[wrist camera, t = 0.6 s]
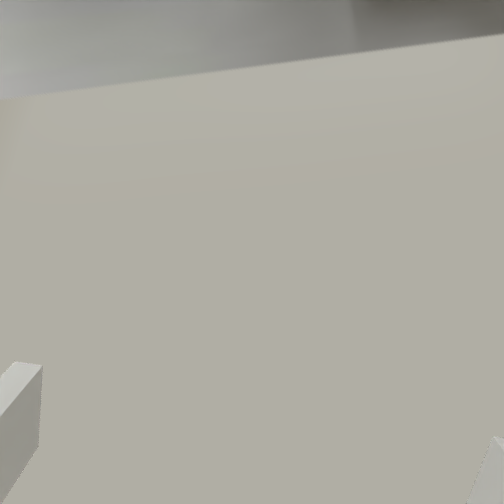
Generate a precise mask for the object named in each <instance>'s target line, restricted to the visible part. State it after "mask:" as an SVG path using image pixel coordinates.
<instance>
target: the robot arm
mask: <svg viewBox="0 0 504 504" xmlns="http://www.w3.org/2000/svg"><path fill="white" fill-rule="evenodd" d="M42 369H43V366H42V365H35V364H29V363H23V362H17V361H15V362H14V363H13V364H12V365H11V366H10V367H9V368H8V369H7V370H6V371H5V372H4V373H3V374H2V375H1V376H0V504H2V502H3V500H4V499H5V498H6V496H7V494H8V493H9V491H10V490H11V488H12V487H13V485H14V483H15V482H16V481H17V479H18V477H19V476H20V474H21V473H22V471H23V470H24V468H25V466H26V465H27V463H28V462H29V460H30V459H31V457H32V456H33V454H34V452H35V451H36V449H37V448H38V441H39V423H40V405H41V387H42ZM466 504H504V438H502V437H495V436H493V437H492V440H491V442H490V445H489V447H488V450H487V452H486V455H485V457H484V460H483V462H482V465H481V467H480V470H479V472H478V475H477V478H476V480H475V483H474V485H473V488H472V490H471V493H470V495H469V498H468V500H467V503H466Z"/></svg>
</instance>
